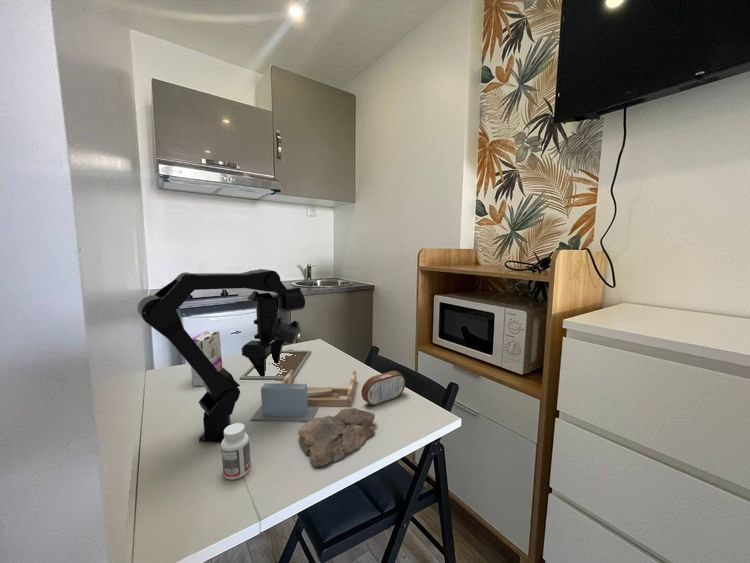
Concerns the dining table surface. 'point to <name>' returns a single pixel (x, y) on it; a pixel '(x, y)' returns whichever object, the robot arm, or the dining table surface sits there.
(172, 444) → the dining table surface
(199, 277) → the robot arm
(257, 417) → the mat
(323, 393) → the offcut upper
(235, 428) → the pill bottle
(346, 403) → the rack
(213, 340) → the candy bar box
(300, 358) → the grey picture frame
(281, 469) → the dining table surface
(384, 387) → the tin
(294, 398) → the light blue block
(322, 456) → the brown rock
